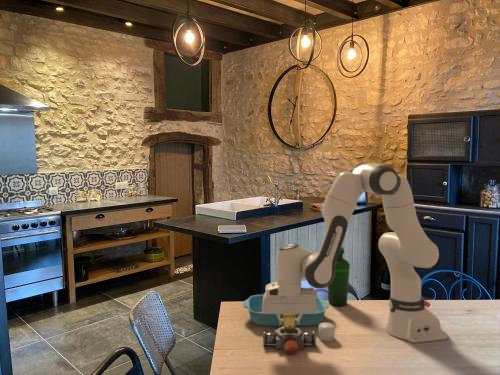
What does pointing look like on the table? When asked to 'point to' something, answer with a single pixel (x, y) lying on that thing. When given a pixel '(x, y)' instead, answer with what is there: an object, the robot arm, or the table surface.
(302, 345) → the valve body
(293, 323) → the brass coupling
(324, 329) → the cream pebble-shaped knob
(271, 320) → the casserole dish
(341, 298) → the bottle
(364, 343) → the table surface
